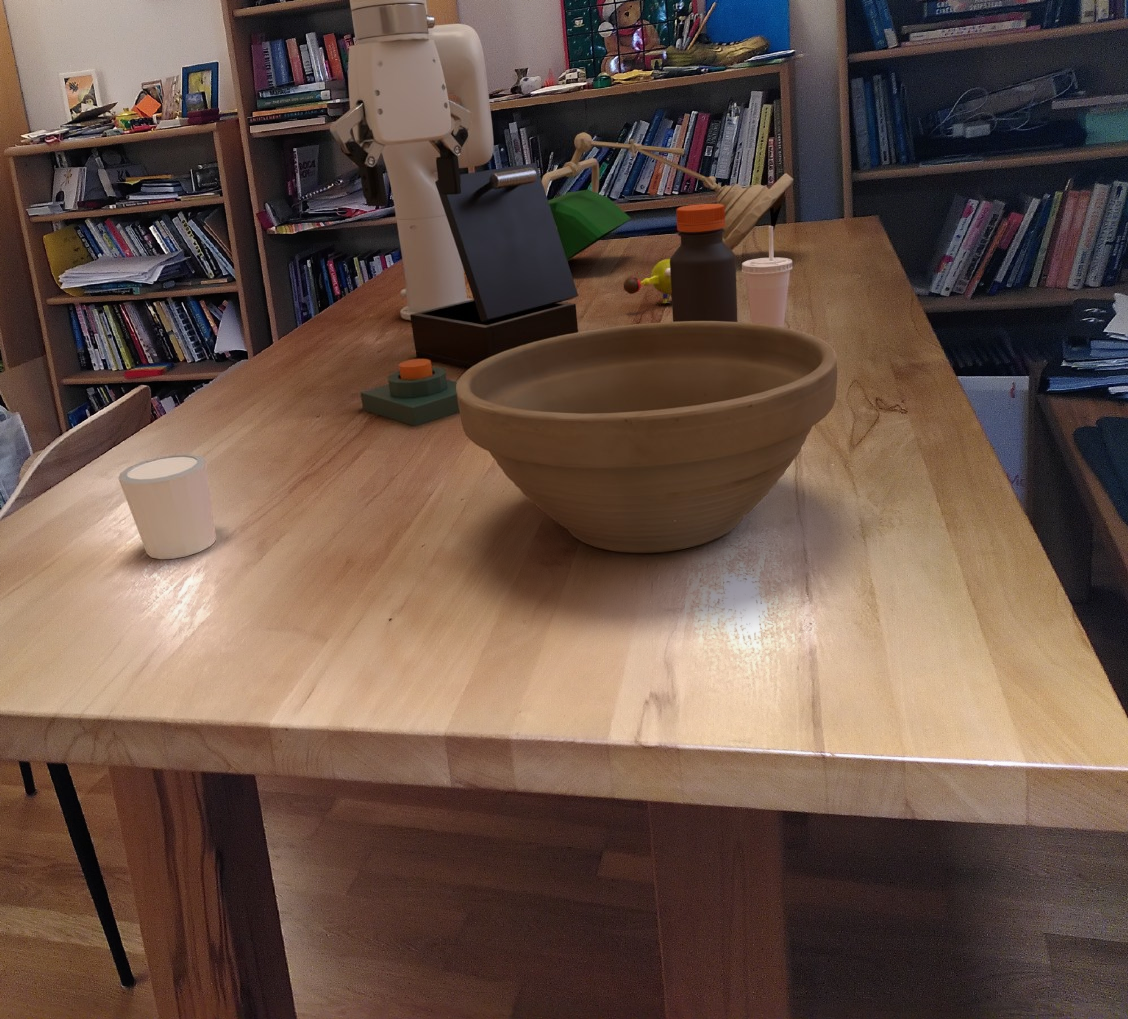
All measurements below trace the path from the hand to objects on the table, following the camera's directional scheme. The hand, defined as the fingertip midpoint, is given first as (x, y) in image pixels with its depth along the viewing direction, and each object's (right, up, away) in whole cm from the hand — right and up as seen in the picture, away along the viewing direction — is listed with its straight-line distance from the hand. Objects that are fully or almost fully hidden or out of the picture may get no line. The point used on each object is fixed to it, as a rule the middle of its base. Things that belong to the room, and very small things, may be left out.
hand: (414, 199), depth 114 cm
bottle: (+32, -22, 0) cm, 39 cm away
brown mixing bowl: (+23, -35, -30) cm, 51 cm away
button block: (0, -22, +6) cm, 23 cm away
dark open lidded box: (+7, -13, +27) cm, 31 cm away
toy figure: (+33, -2, +47) cm, 58 cm away
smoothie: (+43, -12, +22) cm, 50 cm away
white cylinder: (-16, -37, -26) cm, 48 cm away
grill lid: (+9, 0, +18) cm, 21 cm away
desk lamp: (+35, +11, +80) cm, 88 cm away
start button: (0, -19, +5) cm, 19 cm away
